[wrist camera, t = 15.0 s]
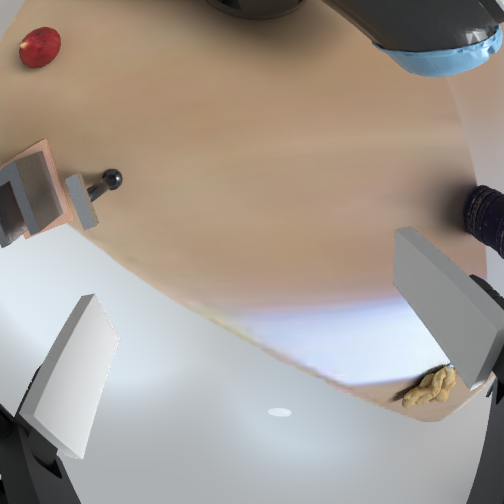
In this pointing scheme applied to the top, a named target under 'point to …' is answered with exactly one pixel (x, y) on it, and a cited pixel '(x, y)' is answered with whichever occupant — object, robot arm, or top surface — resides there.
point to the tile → (45, 148)
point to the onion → (40, 47)
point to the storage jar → (485, 217)
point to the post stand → (90, 194)
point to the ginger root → (431, 388)
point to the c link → (26, 198)
